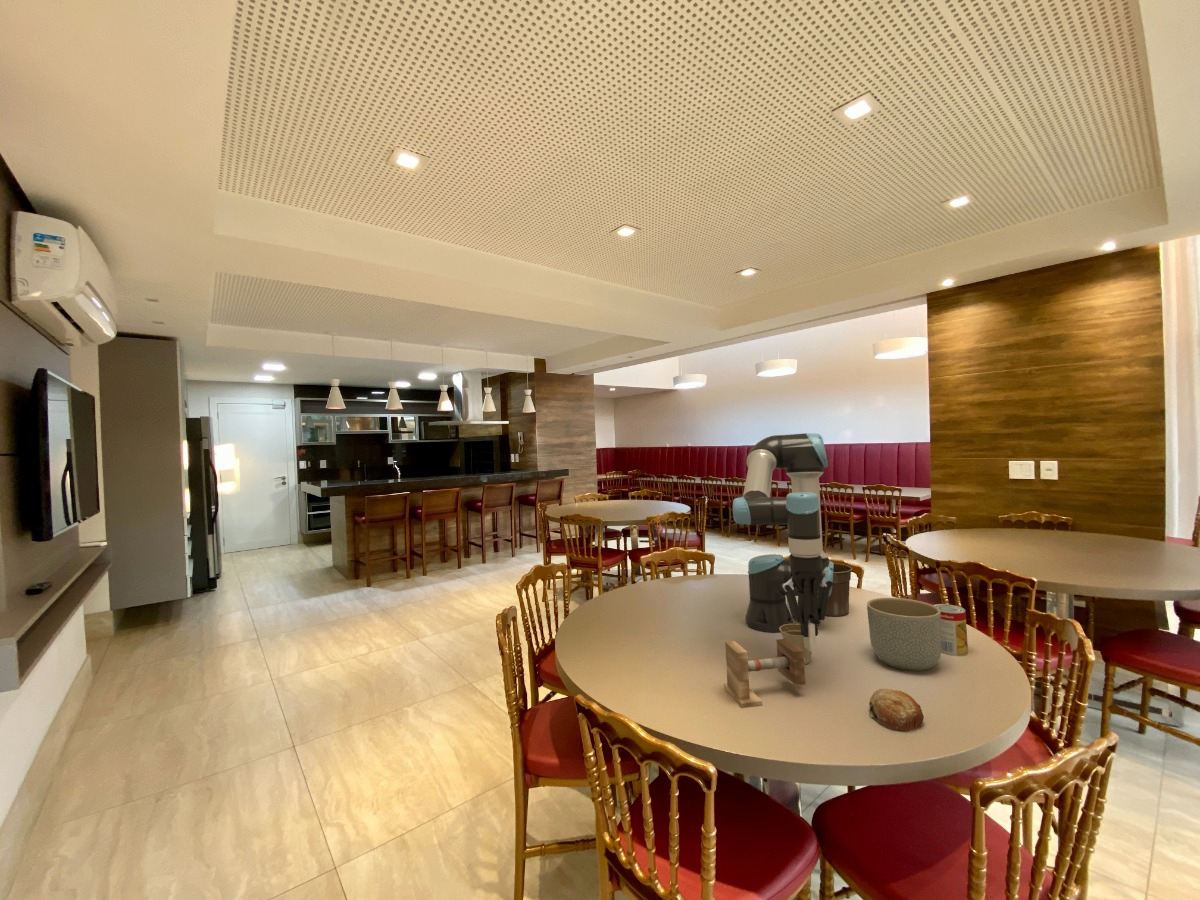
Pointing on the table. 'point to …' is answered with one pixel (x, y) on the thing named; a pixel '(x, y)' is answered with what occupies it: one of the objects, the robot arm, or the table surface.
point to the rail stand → (746, 673)
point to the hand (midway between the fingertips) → (810, 649)
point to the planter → (905, 632)
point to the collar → (792, 661)
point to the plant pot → (839, 591)
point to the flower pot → (795, 638)
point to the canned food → (953, 630)
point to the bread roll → (895, 710)
